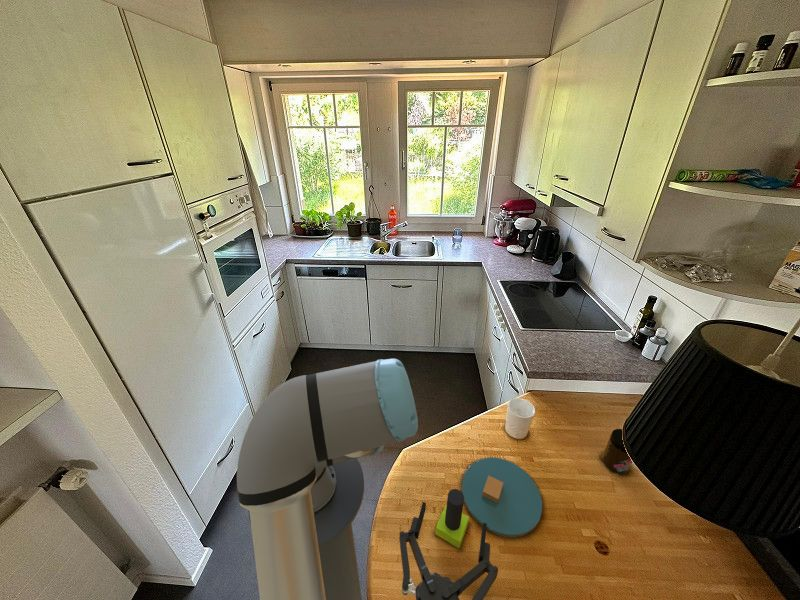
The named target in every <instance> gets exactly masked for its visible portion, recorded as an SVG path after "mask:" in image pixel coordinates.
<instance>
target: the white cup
mask: <svg viewBox="0 0 800 600" xmlns="http://www.w3.org/2000/svg"><path fill="white" fill-rule="evenodd" d="M535 414H536V408H535V406H534V404H532V403H531V402H530V401H529V400H526V399H525V398H522V397H514V398H511V399H509V401H508V402H507V408H506V414H505V425H504V429H505V432H506V434H508V435H509V436H510V437H511V438H514V439H517V440H521V439H524V438H526V437H527V436H528V433H529V430H530V428H531V425H532V423H533V419H534V417H535Z"/></svg>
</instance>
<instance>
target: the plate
mask: <svg viewBox="0 0 800 600" xmlns="http://www.w3.org/2000/svg"><path fill="white" fill-rule="evenodd" d="M488 476H491V477H493V478H495V479H497V480H499V481H501V482H503V487H502V491H501V494H500V497H499V501H498V504H497V503H495V502H493V501H491V500H489V499H487V498H485V497H483V496H482V494H483V490H484V487H485V484H486V481H487V478H488ZM461 492H462V493H463V495H464V505H465V507H466V509H467V511H468V513H469V514H470V515H471V517H472V518H473V520H474V521H475V522H477V523H478V524H479V525H480V526H481V528H482V527H483V523H486V524H487V528H486V531H488V532H490V533H491V534H495V535H497V536H500V537H505V538H519V537H524V536H525V535H528V534H529V533H531V532H532V531H533V530H534V529H536V527H537V525H538V524H539V522H540V520H541V517H542V514H543V500H542V496H541V493H540V490H539V488H538V486H537V484H536V483H535V481H534V479H533V478H532V477H531V476H530V475H529V473H527V472H526V471H525V470H524V469H523V468H522V467H520V466H519V465H517V464H515V463H514V462H512V461H509V460H507V459H503V458H499V457H484V458H481V459H478V460H475V461H474V462H473V463H471V464H470V465H469V466H468V467H467V469H466V470H465V472H464V474H463V476H462V482H461Z"/></svg>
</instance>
